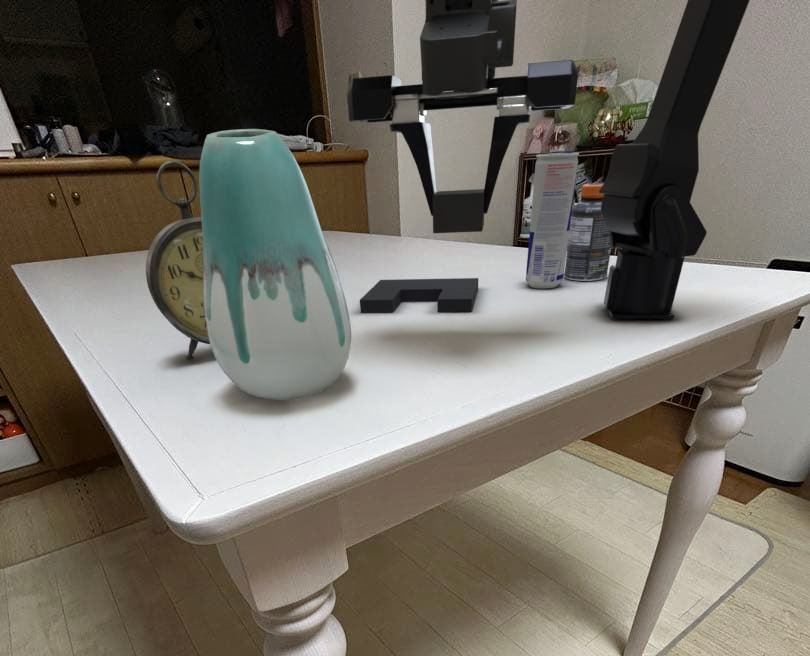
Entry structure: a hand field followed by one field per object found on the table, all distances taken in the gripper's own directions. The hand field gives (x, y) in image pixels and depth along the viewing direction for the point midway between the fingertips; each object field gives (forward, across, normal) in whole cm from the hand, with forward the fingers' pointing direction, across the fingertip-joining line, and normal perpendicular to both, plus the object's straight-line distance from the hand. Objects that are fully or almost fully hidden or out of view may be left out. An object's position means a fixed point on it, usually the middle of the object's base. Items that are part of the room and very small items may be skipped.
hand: (459, 214), depth 49 cm
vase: (+11, -14, -16) cm, 24 cm away
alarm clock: (+11, -24, -6) cm, 27 cm away
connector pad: (+1, 0, 0) cm, 1 cm away
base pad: (+11, -6, +15) cm, 20 cm away
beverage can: (+11, +10, +23) cm, 27 cm away
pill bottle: (+11, +16, +28) cm, 34 cm away
